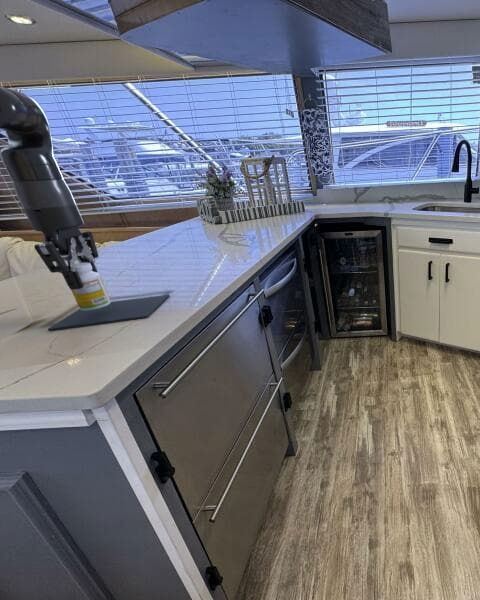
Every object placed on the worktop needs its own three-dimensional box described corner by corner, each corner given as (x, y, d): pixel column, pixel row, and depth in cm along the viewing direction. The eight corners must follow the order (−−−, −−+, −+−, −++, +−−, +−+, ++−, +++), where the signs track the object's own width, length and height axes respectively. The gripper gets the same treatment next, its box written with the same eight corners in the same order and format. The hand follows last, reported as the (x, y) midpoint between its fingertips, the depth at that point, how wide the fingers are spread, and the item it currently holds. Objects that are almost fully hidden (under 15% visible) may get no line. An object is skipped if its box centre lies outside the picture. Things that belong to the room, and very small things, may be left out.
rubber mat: (48, 331, 66) (47, 329, 66) (86, 306, 78) (85, 304, 78) (147, 317, 70) (147, 315, 70) (169, 296, 82) (169, 294, 82)
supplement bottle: (88, 303, 74) (70, 263, 70) (116, 299, 76) (99, 260, 72) (74, 312, 70) (54, 270, 66) (104, 308, 71) (85, 266, 67)
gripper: (52, 202, 69) (85, 276, 76) (-5, 210, 57) (41, 298, 63) (93, 199, 71) (122, 272, 78) (47, 207, 58) (86, 293, 65)
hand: (85, 283), depth 70 cm, fingers closed on supplement bottle, 5 cm apart
